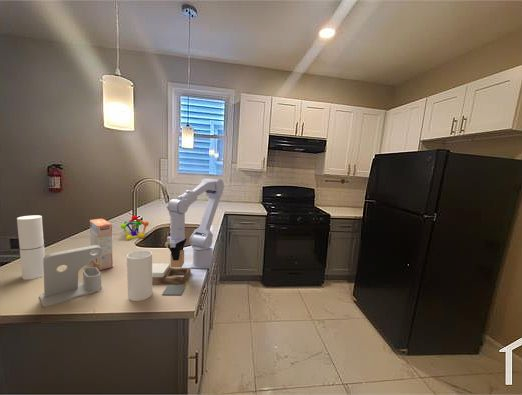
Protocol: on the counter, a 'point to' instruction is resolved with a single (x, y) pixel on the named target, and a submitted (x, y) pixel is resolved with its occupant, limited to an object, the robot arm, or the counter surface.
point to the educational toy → (133, 234)
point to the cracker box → (102, 242)
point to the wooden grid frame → (171, 279)
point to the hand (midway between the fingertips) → (177, 257)
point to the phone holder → (69, 275)
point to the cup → (139, 275)
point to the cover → (159, 269)
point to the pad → (174, 290)
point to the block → (180, 261)
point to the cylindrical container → (31, 246)
